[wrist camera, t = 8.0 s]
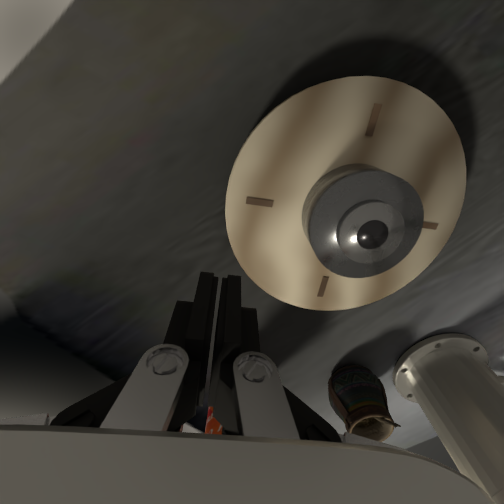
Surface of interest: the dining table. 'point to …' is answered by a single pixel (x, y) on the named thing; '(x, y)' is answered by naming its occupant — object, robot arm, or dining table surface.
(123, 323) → the dining table surface
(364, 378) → the mate gourd
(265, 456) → the robot arm
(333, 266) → the cover
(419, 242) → the turntable
